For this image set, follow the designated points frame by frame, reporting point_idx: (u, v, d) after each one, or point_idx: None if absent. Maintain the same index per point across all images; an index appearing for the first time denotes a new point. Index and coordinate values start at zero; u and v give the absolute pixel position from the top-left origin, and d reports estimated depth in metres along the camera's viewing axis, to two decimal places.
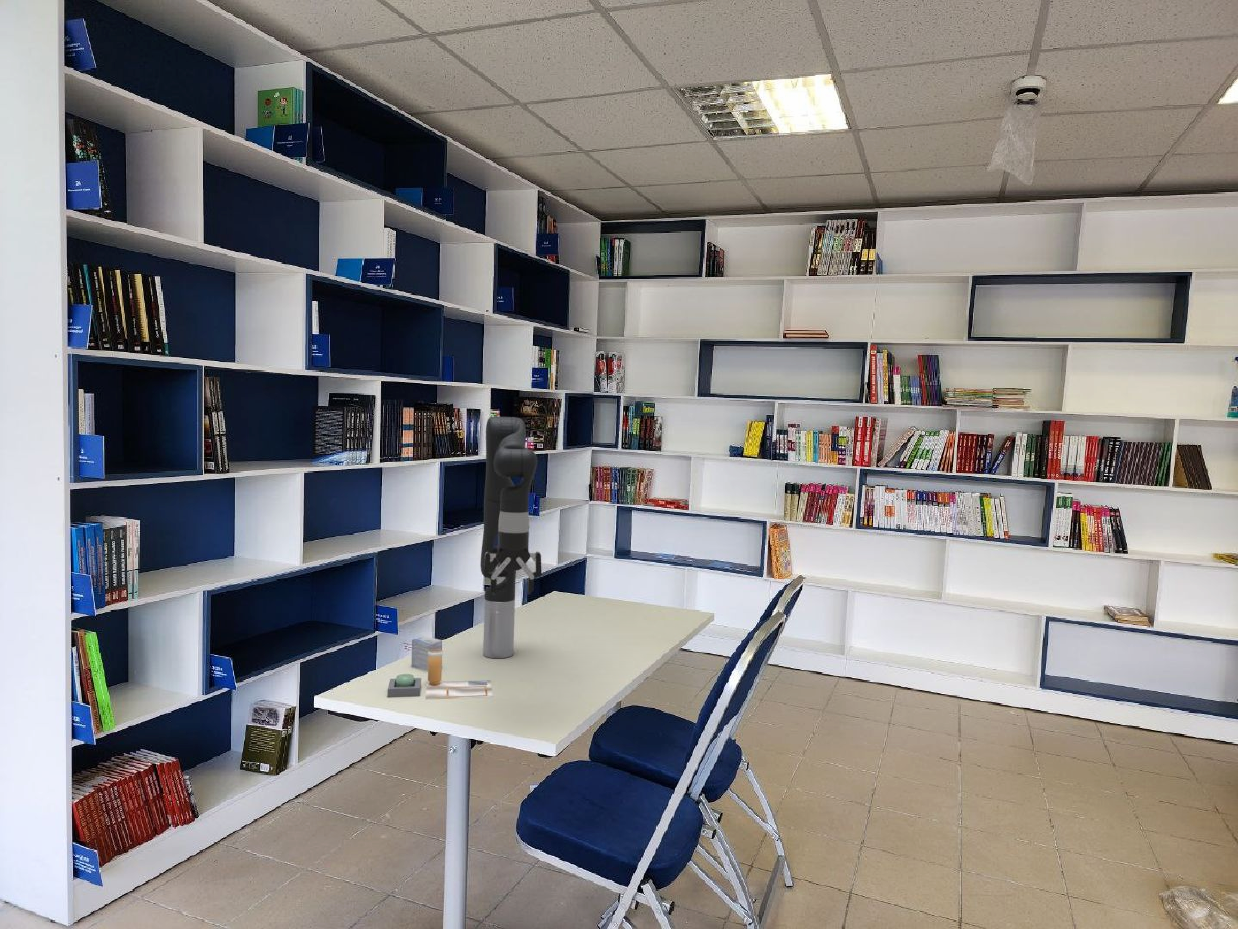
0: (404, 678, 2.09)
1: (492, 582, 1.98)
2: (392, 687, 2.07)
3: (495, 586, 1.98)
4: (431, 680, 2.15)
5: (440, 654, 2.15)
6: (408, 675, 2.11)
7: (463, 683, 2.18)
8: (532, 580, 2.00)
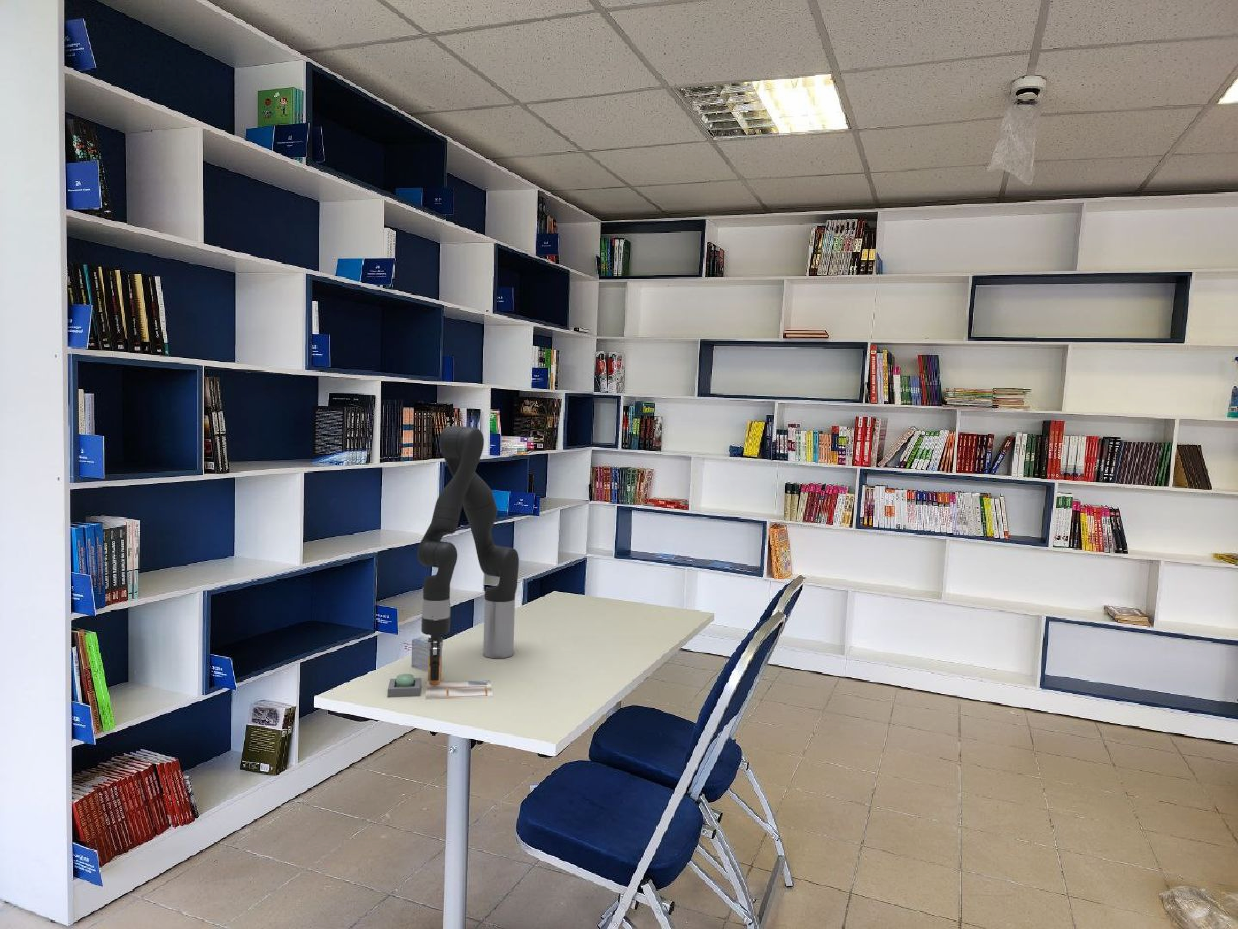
0: (404, 678, 2.09)
1: (437, 669, 2.14)
2: (392, 687, 2.07)
3: (438, 672, 2.15)
4: None
5: None
6: (408, 675, 2.11)
7: (463, 683, 2.18)
8: None
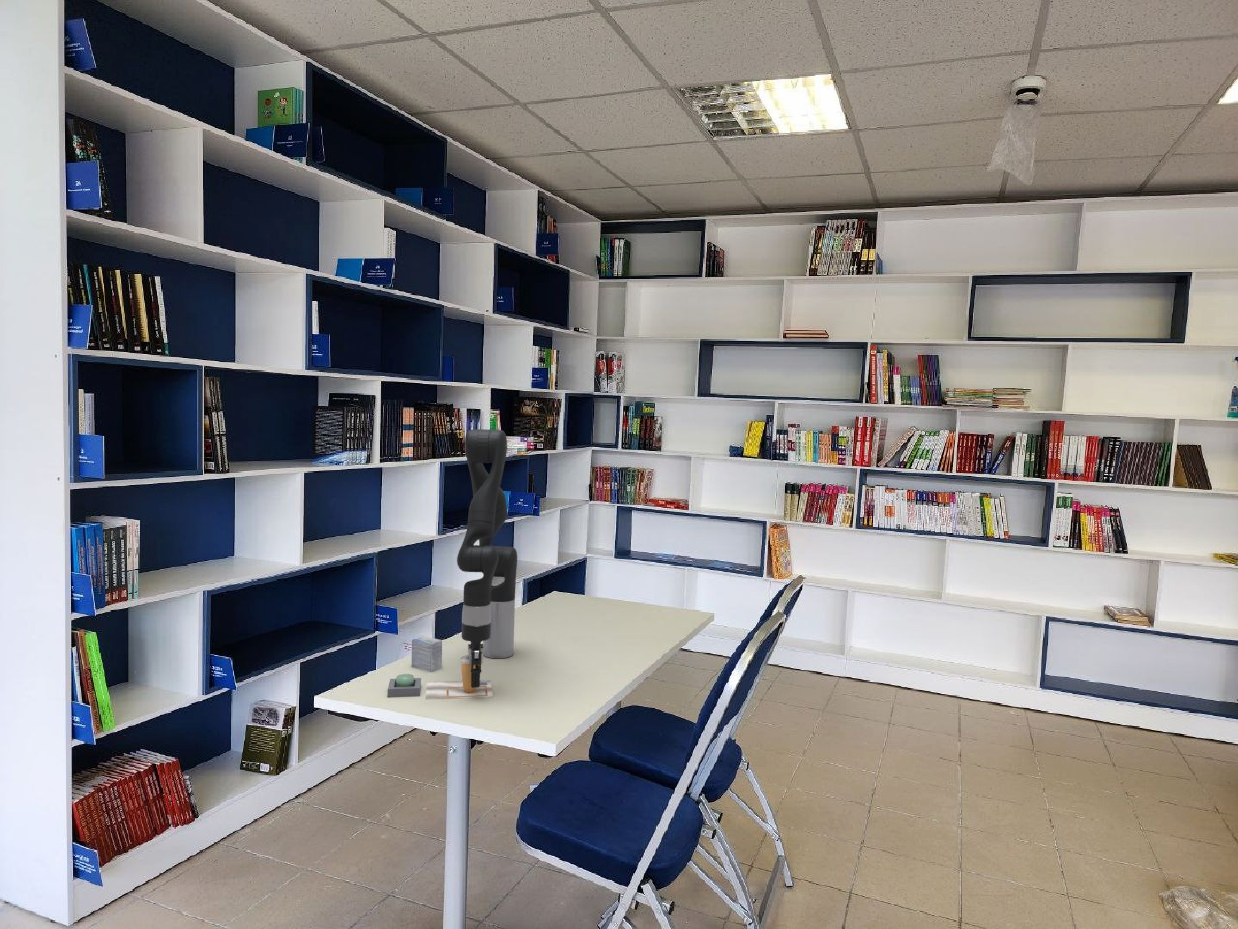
0: (404, 678, 2.09)
1: (478, 676, 2.07)
2: (392, 687, 2.07)
3: (479, 678, 2.08)
4: (467, 687, 2.10)
5: None
6: (408, 675, 2.11)
7: None
8: None
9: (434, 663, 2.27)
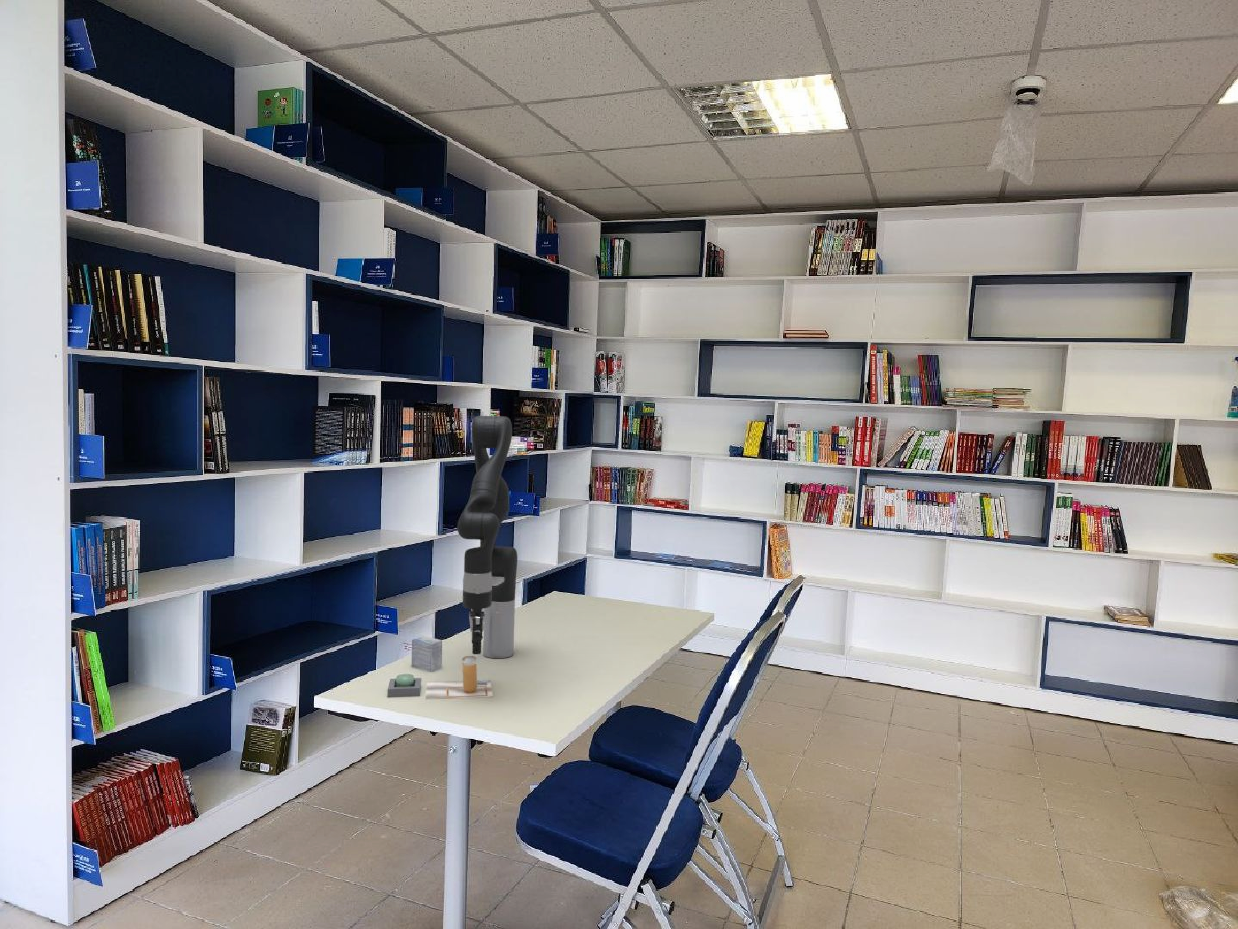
0: (404, 678, 2.09)
1: (479, 643, 2.06)
2: (392, 687, 2.07)
3: None
4: (467, 688, 2.10)
5: (475, 662, 2.10)
6: (408, 675, 2.11)
7: None
8: None
9: (434, 663, 2.27)
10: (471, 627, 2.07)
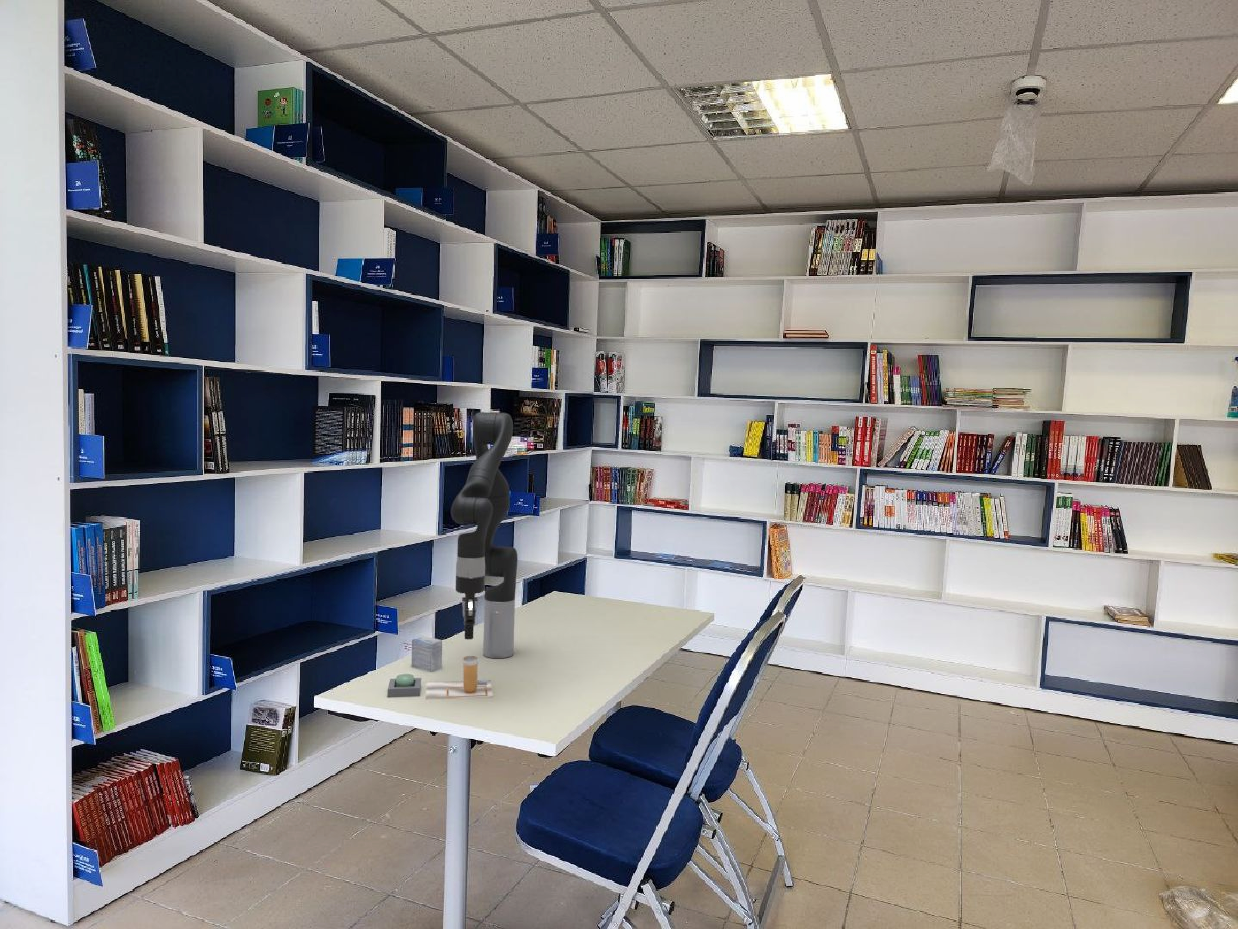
0: (404, 678, 2.09)
1: (472, 628, 2.10)
2: (392, 687, 2.07)
3: None
4: (467, 688, 2.10)
5: (476, 662, 2.10)
6: (408, 675, 2.11)
7: None
8: None
9: (434, 663, 2.27)
10: (464, 614, 2.08)
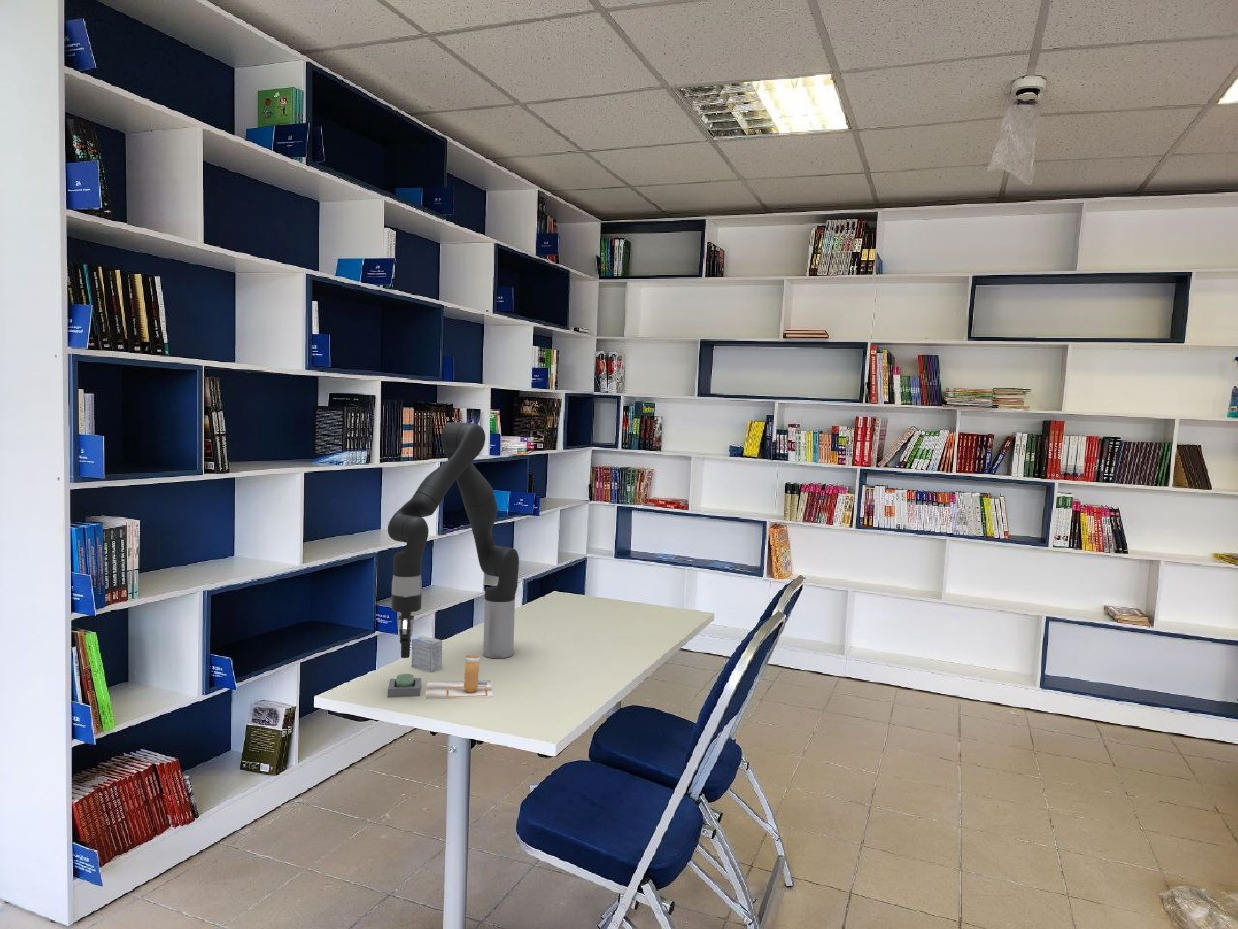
0: (404, 678, 2.09)
1: (408, 646, 2.08)
2: (392, 687, 2.07)
3: (409, 649, 2.09)
4: (468, 687, 2.10)
5: (478, 660, 2.11)
6: (408, 675, 2.11)
7: (463, 683, 2.18)
8: None
9: (434, 663, 2.27)
10: (399, 633, 2.07)
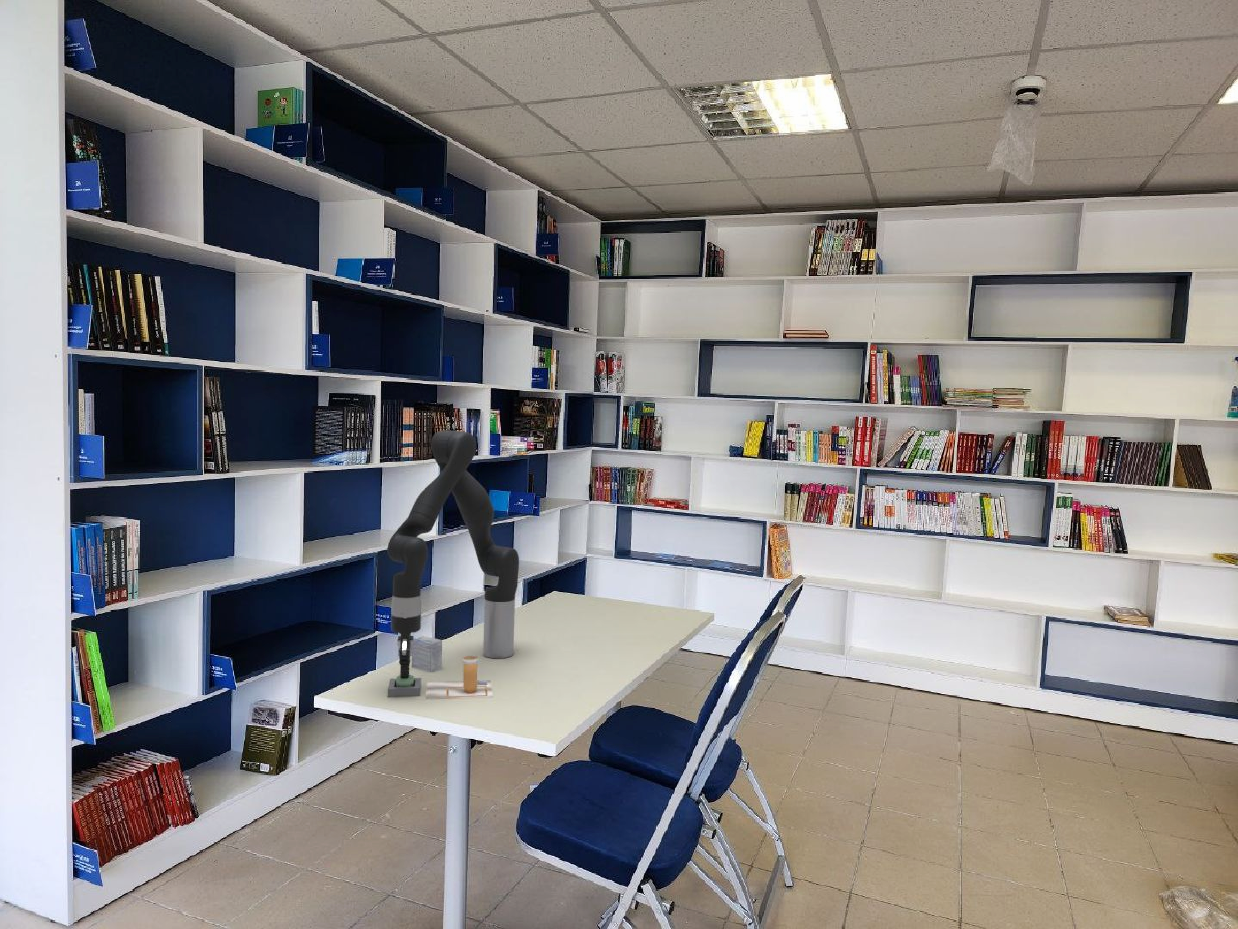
0: (404, 679, 2.09)
1: (407, 667, 2.09)
2: (392, 687, 2.07)
3: None
4: (468, 688, 2.10)
5: (476, 661, 2.10)
6: None
7: None
8: None
9: (434, 663, 2.27)
10: (399, 653, 2.07)
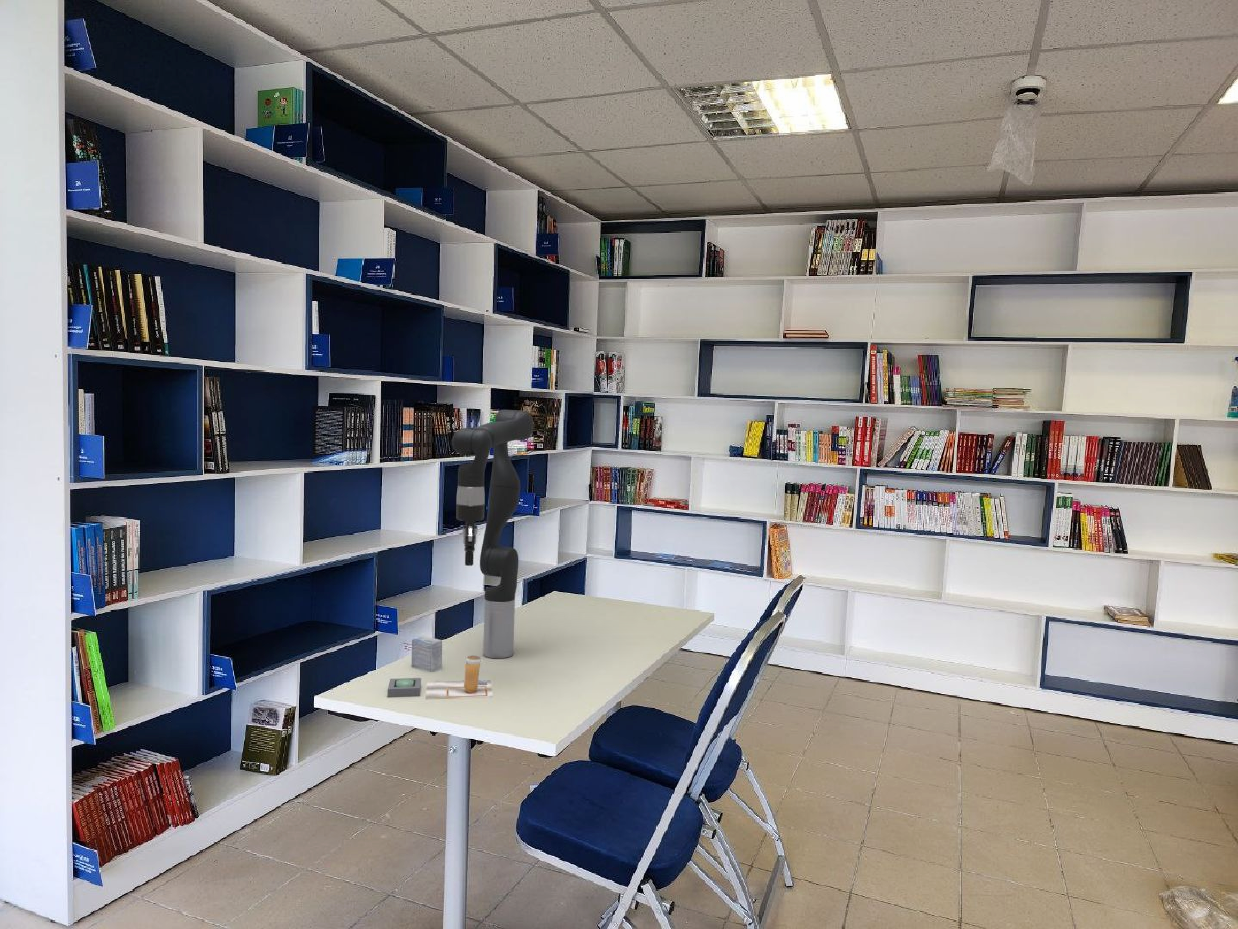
0: (404, 683, 2.09)
1: (472, 554, 2.19)
2: (392, 687, 2.07)
3: None
4: (469, 688, 2.10)
5: (479, 661, 2.11)
6: (408, 680, 2.11)
7: (463, 683, 2.18)
8: None
9: (434, 663, 2.27)
10: (464, 541, 2.18)
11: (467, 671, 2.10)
